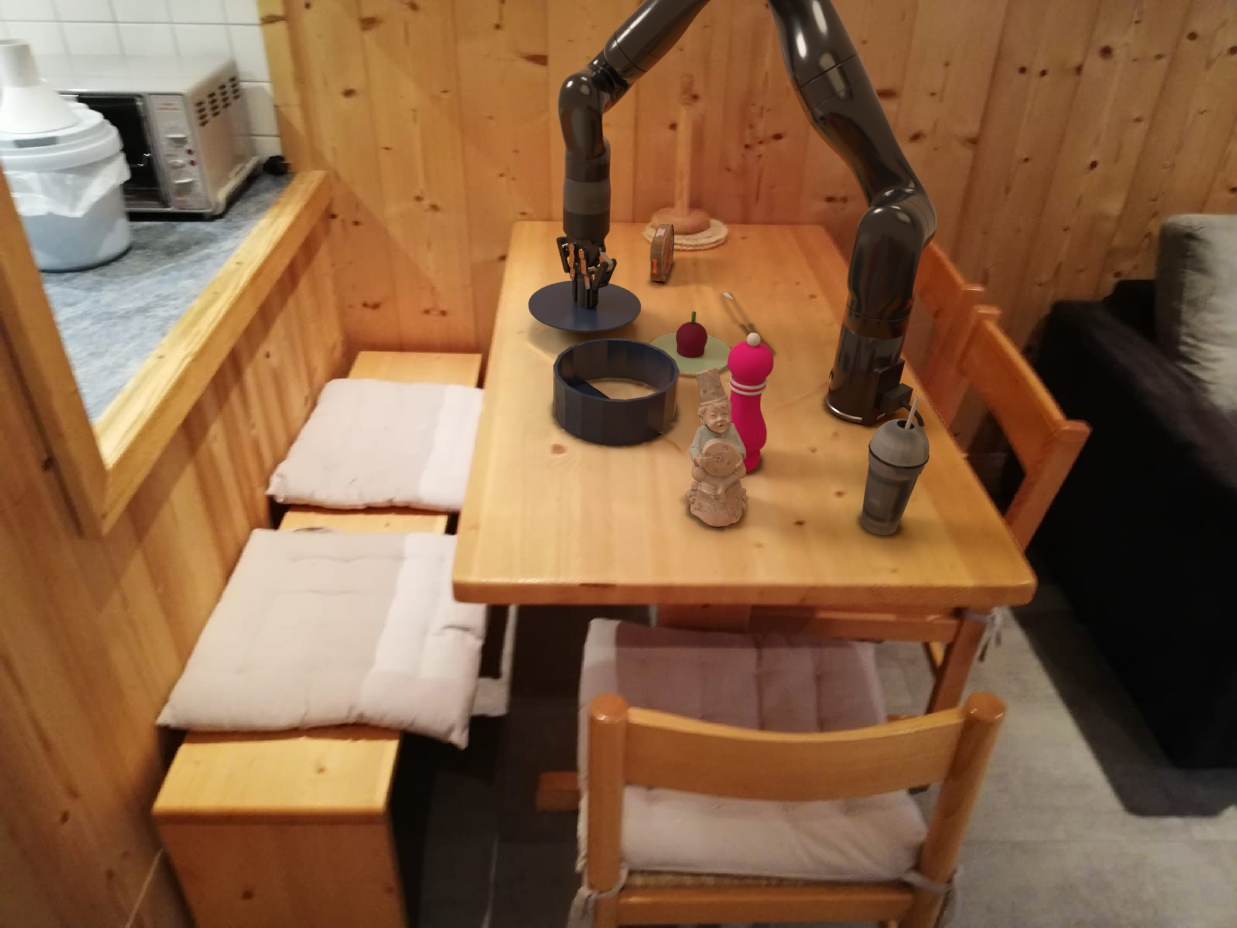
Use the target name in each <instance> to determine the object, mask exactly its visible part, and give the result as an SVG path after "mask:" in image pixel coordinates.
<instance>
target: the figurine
mask: <svg viewBox="0 0 1237 928" xmlns="http://www.w3.org/2000/svg"><path fill="white" fill-rule="evenodd" d="M695 378H696V384H697V389H698V394H699V399H700V400H699V401H700V403H699V407H698V409H697V412H698V413H697V416H698V418H699V420H700V422H701V424H702V425H698V426H697V429H696V431H695V434H694V437H693V439H692V443H691V444H690V446H689V457H690V459H691V461H692V468H691V477H692V479H693V480H694V481H693V482H692V483H691V488H689V490H687V491H686V492H685V493H684V498H685V499H686V500H687V501H688V502H689V504H690V509H689V510H690V513H691V514H692V516H695V517H697V518H698V519H699V520H701V521H702V522H704V524H706V525H708V526H711V527H726V526H729V525H731V524H736V523H737V522H739V520H740V519H741V517H742V515H743V511H747V509H748V507H747V505H748V504H747V502H748V499H749V498H748V495H747V488H745V487H743V486H742V482H741V480H742V479H744V478H745V476H746V475H747V472H746V468H745V465H744V463H743V459H746V450H745V446H744V444H743V442H742V440H741V438H740V436H739V434H738V432H737V430H736V428H735V425H734V423H731V408H732V404H731V402H730V399H728V396H727V394H726V391H725V390H724V387H723V383H722V380H721V377H720V374H719V371H718V370H717V369H716V368H715V367H714V368H709V369H707V370H703V371H700V372H698V373H695Z"/></svg>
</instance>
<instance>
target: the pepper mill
mask: <svg viewBox="0 0 1237 928" xmlns="http://www.w3.org/2000/svg"><path fill="white" fill-rule="evenodd" d="M761 341H762V340H761V336H760V335H759V333H757V332H751V333H749V334H748V335H747V337H746V340H743V341H740V342H738V343H736V344H735V345H734V346H732V348H730V349H731V351H730V353H729V356H728V360H727V365H726V366H727V369H728V371H729V372H730V373H729V376H728V387H729V389H730V395H729V400H730V402H731V404H732V408H731V423H734V425H735V428H736V430H737V432H738V434H739V436H740V438H741V440H742V442H743V444H744V446H745V450H746V459H743V463H744V465H745V468H746V473H749V472H753V471H754V470H756V468H758V466H759V465H760V460H761V450H762V449H763V448H764V447H765V445H766V442H767V438H768V437H767V436H768V430H767V424H766V422H765V419H764V415H763V413H762V407H761V400H762V396H763V395H762V394H763V393H764V392H765V391H766V389H767V384H768V377H769V376H770V375H771V374H772V372H773V370H774V365H775V363H774V362H775V360H774V355H773V352H772V350H771V349H770V348H769V347H768V346H767V345H766V344H764V343H763V342H761Z"/></svg>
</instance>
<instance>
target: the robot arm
mask: <svg viewBox="0 0 1237 928" xmlns="http://www.w3.org/2000/svg"><path fill="white" fill-rule="evenodd" d="M710 1H711V0H643V1H642V2H641V4H640V5H639V6H637V7H636V8H635V10H633V12H631V14H630V15H629V16H627V18H626V19H625V20H623V22H622V23H621V24H620V25H619V26H618V27H617V28H616V29H615V30H614V31H613V32H612V33H611V34H610V36H609V37H608V38H607V40H606V42H605V43H604V46H603V48H602V49H601V50H600V51H599V52H598V53H597V54H596V55H595V56H594V57H593V58H592V59H590V61H589V62H587V64H586V65H584V66H583V67H582V68H580V69H579V70H576V71H575V72H573V73H571V74H569V75H568V76H567V77H565V78H564V80H563V81H562V83H561V85H560V87H559V91H558V96H557V113H558V120H559V125H560V130H561V136H562V140H563V143H564V177H563V178H564V179H563V185H562V231H563V233H564V235H561V236H558V237H556V239H555V240H556V246H557V249H558V253H559V258H560V261H561V265H562V269H563V272H564V273H565V274H569V280H570V281H571V280H572V295H573V300H574V301H575V302H577V277H578V275H579V274H583V275H584V277H585V287H586V288H585V304H584V306H585V308H587V309H591V308H594V307H596V306H597V305H598V292H599V288H602V287H606V286H608V283H610V281H611V279H612V277H613V275H614V272H615V269H616V267H617V265H618V262H617V259H616V258H610V257H609V256H608V255H607V246H606V244H605V243H606V241H605V240H606V239H607V236H608V235H609V233H610V231H611V206H612V205H611V204H612V200H611V199H612V186H611V184H612V183H611V157H612V156H611V155H612V153H611V152H612V151H611V143H610V140H609V139H608V138H607V137H606V136H605V135H604V128H603V127H604V126H603V116H604V115H605V114H607V113H608V112H609V111H610V110H611V109H612V108H614V107H615V106H616V105H617V104H618V103H619V102H620V101H621V99H622V98H623V97H624V96H626V94H627V93H628V92H629V91H630V89H631V88H632V87H633V86H634V85H635V83H636V82H637V81H638V80H640V79H641V78H643V77H644V76H645V75H646V74H647V73H648V72H649V71H650V70H651V69H652V68H654V67H655V65H656V64H657V63H658V62H660V61H661V60H662V59H663V58H664V57H665V56H666V55H667V54H668V53H669V52H670V51H671V50H672V49H673V48H674V47H675V46H676V44H677V43H678V42H679V41H680V39H682V37H683V36H684V34H685V33H686V31H688V29H689V27H690V26H691V25H692V23H693V21H694V20H695V19H696V18H697V16H698V15H699V14H700V12H701V11H702V10H703V9H704V8H705V7H706V6H707V5H708V3H710ZM765 2H766V4H767V6H768V8H769V10H770V12H771V15H772V17H773V20H774V25H775V27H776V33H777V37H778V42H779V47H780V52H781V56H782V61H783V65H784V69H785V73H786V75H787V79H788V82H789V83H790V86H791V89H792V91H793V92H794V93H793V94H794V95H795V97H796V99H797V101H798V103H799V105H800V107H801V109H802V111H803V113H804V115H805V118H806V119H807V121H808V123H809V124H810V126H811V127H812V129H813V130H814V131H815V133H816V134H817V135H818V136H819V138H820V139H822V141H823V142H825V144H826V145H827V146H828V147H829V148H830V149H831V150H832V151H833V152H834V153H835V154H836V155H837V156H838V157H839V158H840V159H841V160H842V161H843V162H844V164H845V165H846V167H847V168H848V169H849V170H850V172H851V173H852V175H853V177H854V179H855V180H856V183H857V186H858V187H859V190H860V191H861V194H862V196H863V199H864V202H865V204H866V208H867V210H866V211H864V213H863V214H862V215H861V217H860V219H859V221H858V223H857V226H856V229H855V231H854V236H853V241H852V246H851V251H850V256H849V257H850V258H849V264H848V268H847V270H848V271H847V276H846V289H847V297H846V302H845V306H844V312H843V316H842V322H841V326H840V331H839V337H838V341H837V346H836V349H835V350H836V351H835V355H834V360H833V365H832V367H831V370H830V372H829V376H828V379H829V386H828V391H827V394H826V397H825V406H826V409H827V410H828V411H829V412H830V413H831V414H833V415H834V416H835V417H837V418H839V419H842V420H844V421H847V422H851V423H856V424H862V425H863V426H865V427H869V426H871V425H873V424H875V423H877V422H879V421H881V420H883V419H885V418H887V417H889V416H890V415H892V414H893V413H895V412H897V411H900V410H901V409H903V408H904V409H905V410H907V411H908V412H909V413H910V412H911V409H912V406H913V405H911V404H910V403H911V400H912V396H913V392H914V387H911V386H910V385H908V384H906V383H904V382H901V380H902V376H903V372H904V368H905V364H906V359H905V358H902V357H901V356H902V352H903V348H904V343H905V340H906V336H907V332H908V328H909V324H910V320H911V318H912V317H911V316H912V313H913V309H914V304H915V300H916V294H915V293H916V292H915V289H914V286H915V281H916V278H917V273H918V267H919V264H920V261H921V258H922V257H921V256H922V253H923V251H925V249H926V248H927V247H928V246H929V244H930V243H931V242H932V240H933V239H934V237H935V235H936V233H937V228H938V213H937V210H936V209H937V208H936V207H935V204H934V202H933V200H932V198H931V196H930V195H929V194H928V193H929V192H928V191H927V190H926V188H925V186H924V185H923V184H922V181H921V180H920V178H919V177H918V175H917V174H916V172H915V170H914V169H913V167H912V166H911V164H910V162H909V160H908V159H907V157H906V155H905V153H904V152H903V149H902V148H901V146H900V144H899V142H898V139H897V137H896V134H895V132H894V129H893V126H892V125H891V123H890V120H889V118H888V115H887V113H886V111H885V109H884V107H883V104H882V102H881V100H880V98H879V95H878V93H877V91H876V88H875V87H874V84H873V81H872V79H871V76H870V74H869V72H868V70H867V68H866V66H865V63H864V61H863V58H862V57H861V55H860V53H859V50H858V49H857V47H856V45H855V43H854V41H853V39H852V37H851V35H850V32H849V31H848V29H847V27H846V25H845V23H844V21H843V19H842V18H841V16H840V15H841V14H839V12H838V10H837V8H836V6H835V5H834V3H833V1H832V0H765ZM592 275H593V280H592V281H591V276H592ZM913 417H914V418H915V419H916V422H917V424H918V425H919V426H920V427H921V428H923V427H925V422H924V419H923V417H922V415H921V413H920V412H919V411H918V410H917V409H916V410H915V413H914V416H913Z"/></svg>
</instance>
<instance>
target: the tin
mask: <svg viewBox="0 0 1237 928" xmlns="http://www.w3.org/2000/svg"><path fill="white" fill-rule="evenodd" d="M674 226H675V225H674V224H673V223H667V224H666V223H659V225H658V226H657V228H656V231H655V233H654V235H653V238H652V240H651V244H650V249H649V260H650V273H649V277H650V280H651V281H652V282H663V283H665V282H666V280H667V278H668V276H669V274H670V270H671V267H672V265H673V260H674V253H675V252H674V251H675V227H674Z"/></svg>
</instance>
